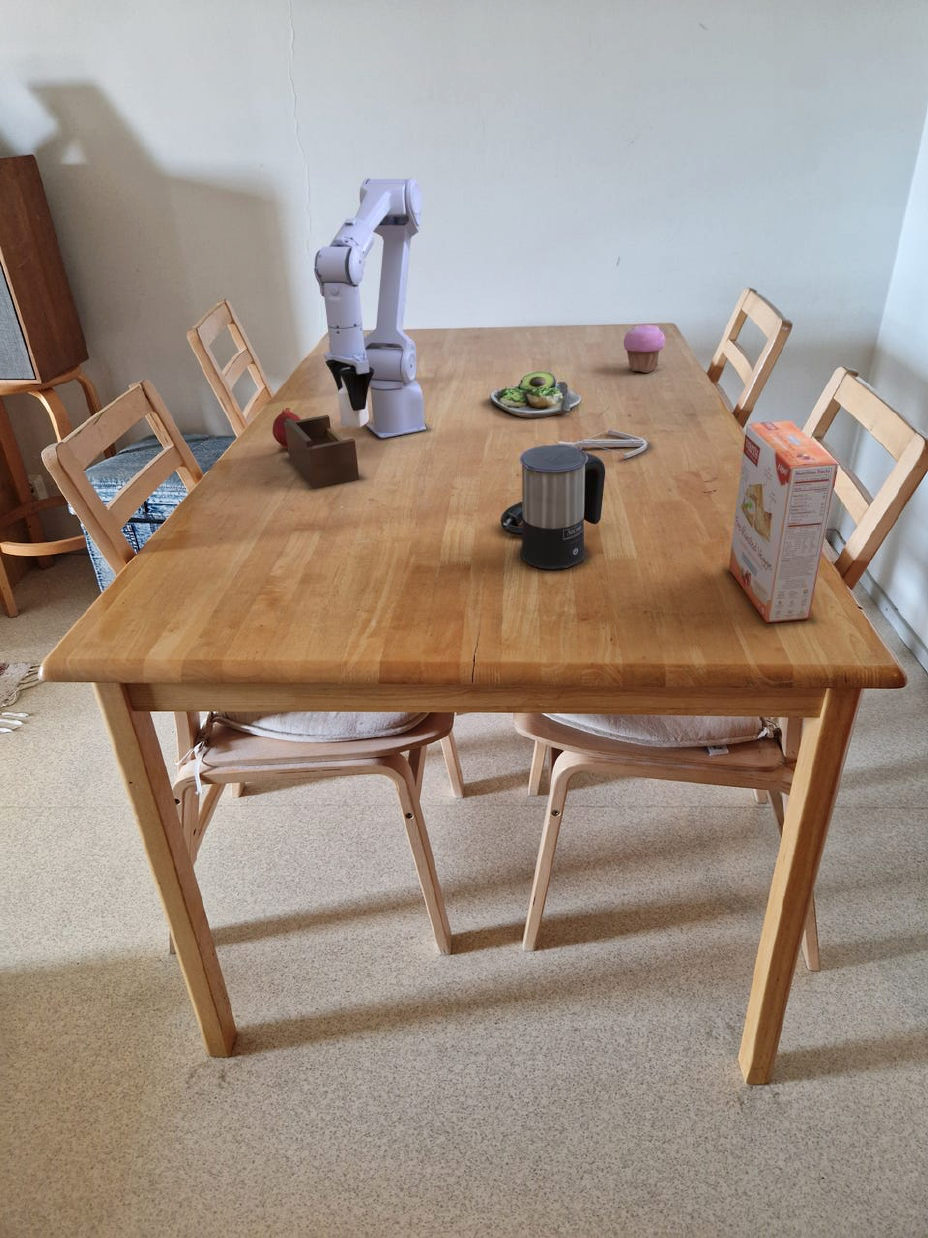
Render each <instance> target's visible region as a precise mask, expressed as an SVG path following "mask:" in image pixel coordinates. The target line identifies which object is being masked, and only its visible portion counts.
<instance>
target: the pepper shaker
mask: <svg viewBox="0 0 928 1238" xmlns="http://www.w3.org/2000/svg"><path fill="white" fill-rule="evenodd" d="M344 369H350V367H348V368H344ZM344 369H341V370H344ZM341 382H342V386H343V388H341V389H340V390H339V391H338V390H337V400H338V407H339V416H340V424H341V426H342V427H350V428H352V427H353V428H361V427H363V426H364V425H366V424H368V422H369V420H370V414H369V404H368V400H367V401H366V407H365V409H363V410H358V411H353V409H352V407H351V404H350V400H349V395H348V391H347V388H346V385H345V383H344V381H343V379H342V377H341Z"/></svg>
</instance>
